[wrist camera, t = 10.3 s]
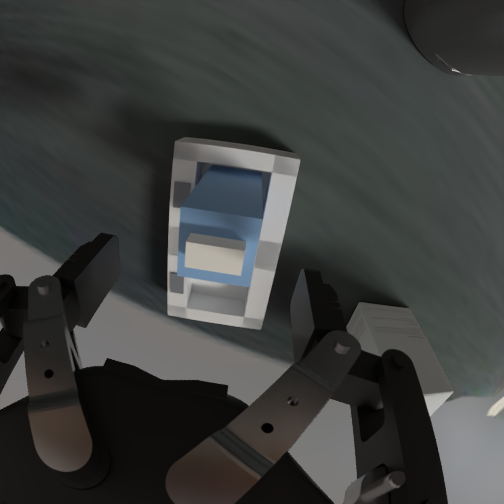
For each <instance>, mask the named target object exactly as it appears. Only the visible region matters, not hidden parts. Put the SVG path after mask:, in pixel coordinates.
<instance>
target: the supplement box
mask: <svg viewBox="0 0 504 504" xmlns="http://www.w3.org/2000/svg"><path fill="white" fill-rule="evenodd" d="M346 328H347V331H348V333H349V334H351V335H353V336H354V337H355V338H356V339H357V340H358V341H359V343H360V345H361V349H362V350H363V351H366V352H369V353H372V354H375V355H378V356H382V354H383V353H384V352H385V351H386V350H388V349H397V350H400V351H402V352H404V353H405V354H407V355H408V356H409V357H410V359H411V360H412V362H413V364H414V367H415V370H416V373H417V376H418V379H419V382H420V385H421V388H422V392H423V395H424V398H425V402H426V405H427V409H428V412H429V416H431V415H432V414H433V413H434V412H435V411H436V410H437V409H438V408H439V407H440V406H441V405H442V404H443V403H444V402H445V400H446V399H447V398H448V397H449V396H450V395H451V394H452V393H453V392H454V391H453V389H452V387H451V385H450V383H449V381H448V379H447V377H446V375H445V373H444V371H443V369H442V367H441V365H440V363H439V361H438V359H437V357H436V355H435V353H434V351H433V349H432V347H431V346H430V344H429V342H428V340H427V338H426V337H425V335H424V333H423V331H422V329H421V328H420V326H419V324H418V322H417V321H416V319H415V317H414V315H413V314H412V312H411V310H410V309H409V308H402V307H394V306H386V305H378V304H371V303H364V302H359V303H358V305H357V307H356V309H355V311H354V313H353V315H352V317H351V319H350V321H349V323H348V325H347V327H346Z"/></svg>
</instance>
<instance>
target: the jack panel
mask: <svg viewBox="0 0 504 504" xmlns="http://www.w3.org/2000/svg"><path fill="white" fill-rule="evenodd" d="M212 165H216V166H223V167H230V168H237V169H243V170H249V171H256V172H262V203H263V221H262V226H261V231H260V236H259V242H258V247H257V252H256V257H255V262H254V267H253V272H252V277H251V282H250V287H244V286H237V285H231V284H224V283H218V282H212V281H205V280H199V279H193V278H187V277H182V276H177V262H178V240H179V222H180V208H181V205H182V204H183V203H184V201H185V200H186V199H187V197H188V196H189V195H190V193H191V192H192V191H193V189H194V188H195V187H196V185H197V184H198V183H199V181H200V180H201V179H202V177H203V176H204V175H205V174H206V172H207V171H208V170H209V168H210V167H211V166H212ZM299 165H300V159H299V157H298V156H297V154H296V153H292V152H287V151H281V150H276V149H270V148H265V147H259V146H253V145H246V144H239V143H233V142H225V141H218V140H210V139H201V138H192V137H184V138H181V139H179V140H177V141H175V145H174V155H173V167H172V179H171V193H170V210H169V233H168V315H171V316H177V317H182V318H188V319H193V320H199V321H205V322H211V323H218V324H224V325H231V326H238V327H245V328H252V329H260V330H261V327H262V323H263V319H264V315H265V311H266V307H267V303H268V299H269V295H270V291H271V287H272V283H273V279H274V275H275V271H276V266H277V262H278V258H279V254H280V250H281V245H282V241H283V237H284V232H285V228H286V224H287V219H288V215H289V210H290V206H291V201H292V197H293V192H294V188H295V183H296V179H297V174H298V169H299Z"/></svg>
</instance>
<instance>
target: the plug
mask: <svg viewBox="0 0 504 504" xmlns="http://www.w3.org/2000/svg"><path fill="white" fill-rule="evenodd" d="M262 221H263V203H262V172H256V171H249V170H243V169H237V168H230V167H223V166H216V165H212V166H211V167H210V168H209V170H208V171H207V172H206V174H205V175H204V176H203V177H202V179H201V180H200V181H199V183H198V184H197V185H196V187H195V188H194V189H193V191H192V192H191V193H190V195H189V196H188V197H187V199H186V200H185V201H184V203H183V204H182V205H181V208H180V222H179V240H178V262H177V276H182V277H187V278H193V279H199V280H205V281H212V282H218V283H224V284H231V285H237V286H244V287H250V282H251V277H252V272H253V267H254V262H255V257H256V252H257V247H258V242H259V236H260V231H261V226H262Z"/></svg>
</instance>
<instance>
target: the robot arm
mask: <svg viewBox="0 0 504 504" xmlns="http://www.w3.org/2000/svg"><path fill="white" fill-rule="evenodd" d="M404 18H405V23H406V26H407V30H408V32H409V34H410V36H411V38H412V41H413V42H414V44H415V45H416V47H417V48H418V50H419V51H420V52H421V53H422V54H423V56H424V57H425V58H426V59H427V60H428V61H429V62H431V63H432V64H433V65H434V66H436V67H437V68H439V69H440V70H442V71H444V72H446V73H449V74H453V75H467V76H473V75H484V76H504V0H406V2H405V5H404ZM119 273H120V256H119V241H118V237H117V236H116V235H111V234H106V233H100V234H99V235H98V236H97V237H96V238H95V239H94V240H93V241H92V242H88V243H86V244H84V245H82V246H80V247H79V248H78V249H77V250H76V251H75V252H74V254H72V255H71V257H70V258H69V260H67V261H66V262H65V263H64V264H63V265H62V266H61V267H60V268H59V269H58V270H57V272H56V273H55V274H54V275H53V276H50V275H46V276H41V277H39V278H37V279H35V280H34V281H33V282H32V283H31V284H30V286H29V287H28V286H16V284H15V281H14V278H13V277H12V276H11V275H6V274H5V275H0V322H1V324H2V326H3V328H2V329H1V331H0V394H1V392H2V390H3V388H4V386H5V384H6V382H7V380H8V378H9V376H10V374H11V372H12V370H13V369H14V367H15V365H16V363H17V361H18V360H19V358H20V356H21V354H22V353H23V351H24V356H25V368H26V377H27V386H28V393H29V395H28V396H26V397H25V398H22V399H21V400H19V401H17V402H15V403H13V404H11V405H9V406H7V407H5V408H3V409H1V410H0V504H334V503H333V501H332V500H331V499H330V498H329V497H328V496H327V495H326V494H325V493H324V492H323V491H322V490H321V489H320V487H319V486H318V485H317V484H316V483H315V482H314V481H313V480H312V479H311V478H310V476H309V475H308V474H307V473H306V472H305V471H304V470H303V469H302V467H301V466H300V465H299V464H298V463H297V462H296V461H295V460H294V458H293V457H292V456H291V455H290V453H288V450H289V449H290V448H291V447H292V446H293V445H294V444H295V442H296V441H297V440H298V439H299V437H300V436H301V435H302V434H303V433H304V432H305V430H306V429H307V428H308V427H309V425H310V424H311V423H312V421H313V420H314V419H315V418H316V417H317V415H318V414H319V413H320V411H321V410H322V409H323V407H324V406H325V405H326V404H327V402H328V401H329V399H333V400H336V401H339V402H343V403H346V404H349V405H350V407H351V415H352V425H353V434H354V444H355V456H356V469H357V480H355V481H353V482H352V483H351V484H350V485H349V486H348V487H347V489H346V492H345V497H344V502H343V504H448V500H447V495H446V488H445V482H444V476H443V471H442V466H441V461H440V457H439V452H438V447H437V443H436V439H435V435H434V431H433V427H432V423H431V419H430V416H429V412H428V409H427V405H426V402H425V398H424V395H423V392H422V388H421V385H420V382H419V379H418V376H417V373H416V370H415V367H414V364H413V362H412V360H411V359H410V357H409V356H408V355H407V354H405V353H404V352H402V351H400V350H397V349H388V350H386V351H385V352H384V353H383V354H382V356H378V355H375V354H372V353H369V352H366V351H363V350H362V349H361V345H360V343H359V341H358V340H357V339H356V338H355V337H354V336H353V335H351V334H349V333H348V331H347V328H346V324H345V321H344V317H343V314H342V311H341V307H340V304H339V303H338V302H339V301H338V297H337V294H336V292H335V291H334V290H333V288H332V287H331V286H330V285H329V284H323V281H322V278H321V274H320V272H319V271H315V270H309V269H302V270H301V271H300V274H299V277H298V280H297V284H296V287H295V290H294V293H293V296H292V300H291V306H290V314H291V325H292V337H293V349H294V361H295V363H294V364H293V365H292V366H291V367H290V368H289V369H288V370H287V371H286V372H285V373H284V374H283V375H282V376H281V377H280V378H279V379H278V380H277V381H276V382H275V383H273V385H271V386H270V387H269V388H268V389H267V390H266V391H265V392H264V393H263V394H262V395H261V396H260V397H259V398H258V399H256V400H255V401H254V402H253V403H252V404H251V405H250V406H248V405H247V404H246V403H244V402H242V401H241V400H239V399H237V398H235V397H233V396H231V395H228V394H227V391H228V385H223V384H217V383H210V382H204V381H199V380H162V379H159V378H157V377H155V376H153V375H151V374H149V373H147V372H145V371H143V370H141V369H139V368H138V367H135V366H133V365H130V364H126V363H122V362H119V361H115V360H112V359H109V358H107V360H106V361H105V364H104V366H93V367H86V368H83V367H82V363H81V359H80V355H79V352H78V347H77V343H76V338H75V334H74V330H73V329H74V327H75V326H76V325H78V326H81V327H84V328H86V327H87V325H88V323H89V322H90V320H91V319H92V317H93V315H94V314H95V312H96V311H97V309H98V307H99V306H100V304H101V303H102V301H103V300H104V298H105V297H106V295H107V294H108V292H109V291H110V289H111V288H112V286H113V285H114V283H115V282H116V280H117V279H118V276H119Z"/></svg>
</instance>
